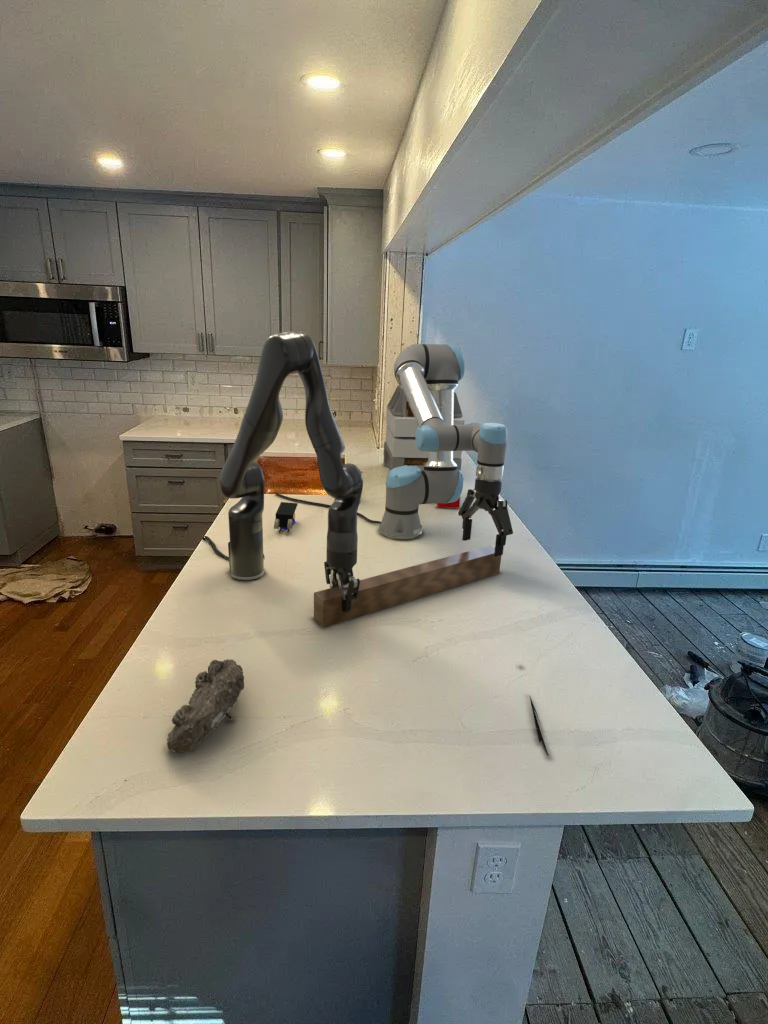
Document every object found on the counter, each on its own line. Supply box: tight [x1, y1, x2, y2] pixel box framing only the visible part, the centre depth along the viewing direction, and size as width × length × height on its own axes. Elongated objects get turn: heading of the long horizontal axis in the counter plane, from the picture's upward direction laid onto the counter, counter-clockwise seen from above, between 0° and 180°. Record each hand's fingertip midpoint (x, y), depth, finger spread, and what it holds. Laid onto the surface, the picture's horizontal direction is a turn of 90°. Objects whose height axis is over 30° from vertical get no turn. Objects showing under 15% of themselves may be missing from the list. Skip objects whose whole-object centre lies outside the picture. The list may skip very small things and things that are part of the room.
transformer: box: [383, 384, 465, 472], centre depth 268 cm, size 34×33×41 cm
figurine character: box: [273, 501, 298, 534], centre depth 199 cm, size 7×8×15 cm
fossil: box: [166, 658, 245, 754], centre depth 106 cm, size 22×10×15 cm
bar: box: [313, 545, 503, 628], centre depth 157 cm, size 61×5×7 cm, turn 125°
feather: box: [529, 696, 549, 756], centre depth 114 cm, size 2×28×2 cm
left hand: (340, 606), depth 144 cm, fingers closed on bar, 5 cm apart
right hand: (481, 547), depth 168 cm, fingers open, 13 cm apart
